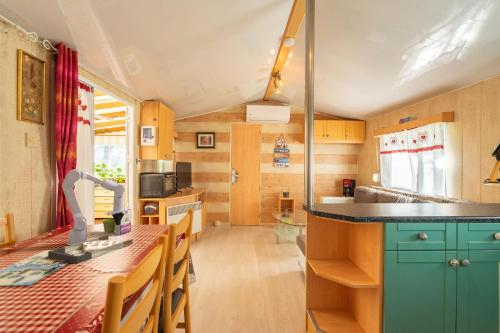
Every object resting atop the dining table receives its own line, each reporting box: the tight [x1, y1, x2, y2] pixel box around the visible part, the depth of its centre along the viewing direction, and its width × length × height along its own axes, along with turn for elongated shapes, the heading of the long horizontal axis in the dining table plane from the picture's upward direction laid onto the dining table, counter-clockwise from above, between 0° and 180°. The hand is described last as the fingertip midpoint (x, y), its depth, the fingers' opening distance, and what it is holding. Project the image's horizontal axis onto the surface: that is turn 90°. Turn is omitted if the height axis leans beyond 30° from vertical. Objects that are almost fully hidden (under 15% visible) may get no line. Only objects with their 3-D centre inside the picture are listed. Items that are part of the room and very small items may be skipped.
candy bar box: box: [114, 208, 132, 236], centre depth 182 cm, size 11×5×16 cm, turn 168°
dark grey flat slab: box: [47, 246, 93, 264], centre depth 132 cm, size 20×8×3 cm, turn 70°
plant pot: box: [102, 218, 115, 234], centre depth 184 cm, size 9×9×9 cm
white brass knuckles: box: [82, 239, 120, 254], centre depth 148 cm, size 3×18×15 cm
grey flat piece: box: [64, 234, 134, 259], centre depth 148 cm, size 20×27×3 cm
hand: (117, 225), depth 166 cm, fingers closed
